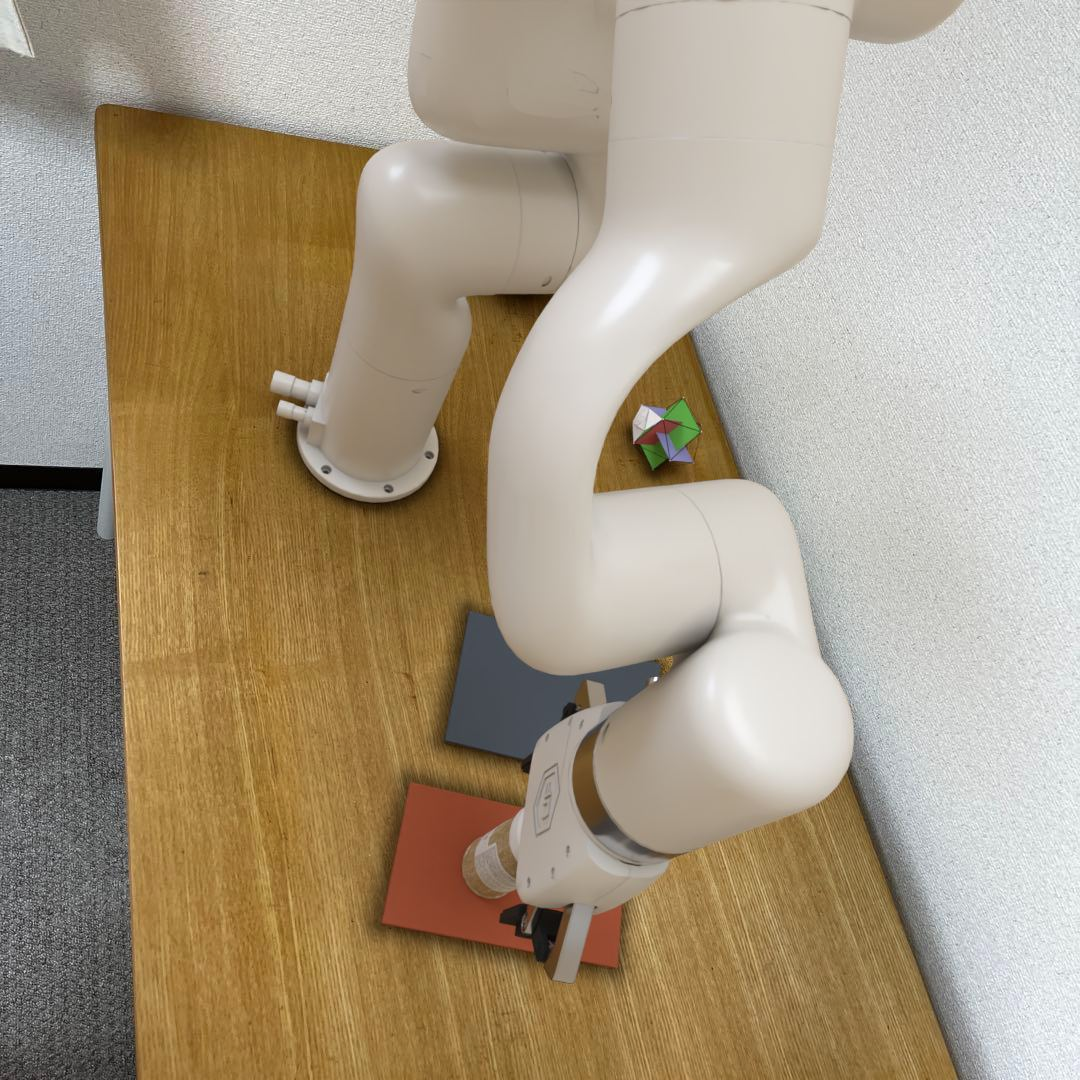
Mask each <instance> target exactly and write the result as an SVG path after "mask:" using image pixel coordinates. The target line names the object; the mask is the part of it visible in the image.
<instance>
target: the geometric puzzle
mask: <svg viewBox="0 0 1080 1080" xmlns="http://www.w3.org/2000/svg"><path fill="white" fill-rule="evenodd" d="M677 399H678V400H677ZM671 400H673V398H672V399H670V401H671ZM666 401H668V399H666V400H665V402H666ZM654 403H655V404H656V403H657V402H655V401H654V402H653V404H654ZM659 403H662V400H661V401H659ZM650 404H651V403H650V402H649V403H648V404H645V403H644V404H643V403H641V404H640V407H639V409H638V411H637V412H636V414H635V416H634V418H633V420H632V422H631V424H632V425H631V426H632V444H633V445H634V446H635V448H636V449H637V450H638V452H639V453H640V454H641V456H642V457H644V455H643V454H642V453H641V451H640V450H639V448H641V449H642V451H643V453H644V454H645V457H646V458H644V459H645V461H647V464H648V465H649V466H650V468H651V470H652V471H655V470H658V469H659V470H660V469H661V466H663V465H665V464H667V463H669V462H677V463H682V464H681V466H685V463H686V464H687V465H690V464H693V465H694V464H695V459H696V455H697V453H698V452H697V451H698V447H699V443H700V441H697V443H696V448H695V452H694V458H692V457H691V455H690V453H689V451H688V448H686V447H687V446H688V445H689V444H691V442H693V441H694V440H695V439H696V438H697V437H698V438H697V440H700V439H701V437H700V436H701V435H702V433H703V431H702V426H703V424H701V422H700V421H699V419H698V418H697V416H696V415H695V413H694V412H693V410H692V409H691V407H690V405H689V404H688V403H687V401H686V399H685V396H682V397H680V398H678V397H677V398H676V401H675V402H674V403H672V404H670V405H668V406H667V407H658V406H652V405H650ZM695 418H696V419H695ZM697 421H698V422H697ZM638 447H639V448H638ZM646 459H647V460H646ZM666 460H667V461H666ZM665 461H666V462H665ZM677 466H679V464H677V465H676V464H675V467H677ZM671 467H673V465H670V466H669V468H671ZM666 468H667V466H664V467H662V469H666Z"/></svg>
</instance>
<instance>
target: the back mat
mask: <svg viewBox="0 0 1080 1080" xmlns="http://www.w3.org/2000/svg"><path fill="white" fill-rule="evenodd" d="M661 664H662V663H658V662H655V661H653V660H651V661H646V662H641V663H637V664H632V665H628V666H623V667H618V668H613V669H608V670H604V671H598V672H592V673H585V674H579V675H562V676H561V675H552V674H548V673H545V672H542V671H539V670H536V669H534V668H532V667H530V666H529V665H527V664H526V663H525V662H523V661H522V660H521V659H519V658H518V657H517V656H516V655H515V653H514V652H513V651H512V650H511V648H510V647H509V646H508V645H507V643H506V641H505V639H504V637H503V635H502V633H501V631H500V629H499V627H498V624H497V621H496V618H495V616H491V615H487V614H483V613H479V612H477V611H473V610H469V612H468V613H467V617H466V623H465V630H464V634H463V639H462V645H461V650H460V654H459V660H458V664H457V670H456V676H455V681H454V686H453V691H452V695H451V696H452V697H451V701H450V707H449V713H448V717H447V723H446V729H445V733H444V738H443V742H444V743H445V744H450V745H454V746H457V747H462V748H465V749H470V750H474V751H478V752H483V753H486V754H490V755H494V756H498V757H503V758H507V759H510V760H515V761H520V762H522V760H523V759H525V758H526V757H527V756H529V755H530V754H531V753H532V752H534V749H535V746H536V744H537V742H538V740H539V739H540V738H541V737H542V736H543V735H544V734H545V733H546V732H547V731H548V730H549V729H551V728H552V727H553V726H555V725H556V724H558V723H559V722H560V720H561V718H562V715H563V714H562V713H563V708H564V706H566V705H567V704H568V703H569V702H571V703H574V697H575V695H576V693H577V691H578V689H579V687H580V685H581V684H582V682H583V680H584V679H589V680H593V681H596V682H600V683H603V684H604V689H605V695H606V701H607V703H612V702H627V701H629V700H630V699H631V698H633V697H634V696H635V695H637V694H638V693H639V692H641V691H642V690H644V689H645V688H646V680H647V679H648V678H651V677H661V667H662V666H661Z"/></svg>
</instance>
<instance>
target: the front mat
mask: <svg viewBox="0 0 1080 1080" xmlns="http://www.w3.org/2000/svg"><path fill="white" fill-rule="evenodd" d="M523 808H524V807H522V806H517V805H513V804H509V803H504V802H499V801H495V800H492V799H487V798H482V797H478V796H473V795H469V794H465V793H460V792H456V791H453V790H452V791H451V790H447V789H442V788H438V787H434V786H430V785H426V784H422V783H417V782H410V783H409V784H408V789H407V795H406V798H405V803H404V809H403V812H402V813H403V814H402V819H401V822H400V829H399V834H398V838H397V843H396V848H395V852H394V856H393V863H392V866H391V871H390V877H389V882H388V887H387V891H386V896H385V901H384V906H383V911H382V916H381V920H380V924H381V925H385V926H390V927H394V928H400V929H406V930H410V931H416V932H422V933H426V934H431V935H437V936H443V937H447V938H453V939H458V940H463V941H468V942H473V943H478V944H484V945H488V946H489V945H490V946H495V947H500V948H504V949H505V948H506V949H510V950H516V951H521V952H526V953H532V954H534V948H533V944H532V939H526V938H521V937H517V936H515V928H516V926H512V925H507V924H502V923H499V919H500V913H503V910H505V909H507V908H510V907H513V906H515V905H518V904H526V903H524V902H522V900H521V899H520V897H519V895H518V892H517V890H514V891H511V892H509V893H507V894H506V895H504V896H502V897H500V898H496V899H487V898H483V897H480V896H478V895H476V894H475V893H474V892H473V891H472V890H470V888H469V887H468V885H467V884H466V882H465V879H464V877H463V873H462V862H463V857H464V854H465V852H466V850H467V848H468V847H469V845H470V844H471V843H472V842H474V841H475V840H476V839H478V838H480V837H482V836H484V835H486V834H487V833H488V832H490V831H491V830H493V829H495V828H496V827H498V826H499V825H501V824H502V823H504V822H506V821H508V820H510V819H512V818H514V817H515V816H516V815H517V813H518V812H519V811H520V810H521V809H523ZM547 909H552V910H557V911H562V912H563V911H564V907H561V908H547ZM622 911H623V904H621V905H619V906H617V907H615V908H613V909H611V910H608V911H606V912H603V913H600V914H597V915H592V919H591V923H590V927H589V930H588V934H587V938H586V941H585V945H584V949H583V953H582V956H581V960H580V963H583V964H584V963H585V964H590V965H594V966H600V967H604V968H611V969H617V968H618V966H619V955H620V954H619V953H620V952H619V951H620V941H621V940H620V939H621V927H622V926H621V925H622V913H623V912H622Z"/></svg>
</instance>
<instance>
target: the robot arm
mask: <svg viewBox="0 0 1080 1080" xmlns="http://www.w3.org/2000/svg"><path fill="white" fill-rule="evenodd" d="M964 1H965V0H416V5H415V10H414V14H413V15H414V16H413V20H412V26H411V33H410V39H409V49H408V58H407V69H406V72H407V73H406V77H407V92H408V97H409V100H410V102H411V103H410V104H411V106H412V109H413V111H414V113H415V114H416V116H417V117H418V119H419V120H420V122H421V123H422V124H423V125H424V126H425V127H426V128H428V129H430V130H431V131H433V133H435V134H437V135H438V136H441V137H443V138H446V139H411V140H404V141H400V142H396V143H392V144H390V145H387V146H385V147H382V148H381V149H379V150H378V151H376V152H375V153H373V155H372V156H371V157H370V158H369V159H368V161H367V162H366V164H365V165H364V167H363V169H362V172H361V175H360V176H359V177H360V178H359V182H358V186H357V192H356V203H355V237H354V238H355V239H354V257H353V266H352V273H351V279H350V283H349V287H348V288H349V289H348V292H347V297H346V301H345V305H344V309H343V314H342V318H341V323H340V327H339V331H338V335H337V340H336V343H335V347H334V353H333V355H332V359H331V364H330V367H329V371H328V372H327V373H326V376H325V379H324V380H323V381H320V380H317V379H315V378H312V381H307V380H304V379H301V378H298V377H297V376H295V375H292V374H290V373H286V372H283V371H280V370H277V369H276V370H275V371H274V373H273V374H272V378H271V382H270V384H269V392H271V393H274V394H277V395H280V396H282V397H286V398H288V399H290V398H292V399H295V400H299V401H302V402H305V403H304V406H303V407H302V406H300V405H296V404H295V403H292V402H290V401H287V400H283V399H280V400H279V403H278V405H277V409H276V413H275V416H277V417H281V418H284V419H287V420H293V421H297V426H296V445H297V449H298V452H299V454H300V457H301V459H302V462H303V463H304V465H305V466H306V468H307V469H308V470H309V472H310V474H311V475H313V476H314V478H315V479H317V480H318V481H319V482H320V483H321V484H322V485H324V486H325V487H326V488H328V489H329V490H331V491H333V492H335V493H336V494H338V495H341V496H343V497H345V498H348V499H352V500H354V501H359V502H366V503H372V504H373V503H388V502H393V501H398V500H401V499H403V498H406V497H409V496H410V495H412V494H413V493H415V492H416V491H418V490H419V489H421V487H423V486H424V484H425V483H426V482H427V481H428V480H429V479H430V476H431V475H432V473H433V471H434V469H435V466H436V464H437V461H438V457H439V450H440V449H439V439H438V434H437V430H436V428H435V426H434V425H435V423H436V421H437V418H438V416H439V413H440V411H441V409H442V407H443V405H444V402H445V400H446V397H447V395H448V392H450V391H449V390H450V389H451V386H452V383H454V382H453V381H454V379H455V377H456V375H457V372H458V370H459V368H460V365H461V363H462V360H463V358H464V356H465V354H466V351H467V349H468V348H469V347H468V346H469V344H470V340H471V336H472V331H473V330H472V329H473V321H472V320H473V319H472V312H471V307H470V305H469V302H468V300H467V297H472V296H495V295H552V297H551V298H550V300H549V301H548V302H547V304H546V305H545V307H544V308H543V309H542V311H541V313H540V315H539V316H538V318H537V319H536V321H535V322H534V324H533V326H532V327H531V329H530V331H529V333H528V334H527V336H526V338H525V340H524V342H523V344H522V346H521V348H520V349H519V352H518V353H517V356H516V358H515V360H514V361H513V364H512V367H511V368H510V371H509V374H508V376H507V378H506V380H505V383H504V386H503V388H502V391H501V394H500V396H499V399H498V402H497V404H496V405H497V406H496V409H495V413H494V416H493V419H492V424H491V431H490V437H489V444H488V458H487V491H486V493H487V494H486V496H487V497H486V563H487V579H488V588H489V590H488V591H489V596H490V601H491V608H492V611H493V614H494V618H496V621H497V624H498V627H499V629H500V631H501V633H502V635H503V637H504V639H505V641H506V643H507V645H508V646H509V647H510V648H511V650H512V651H513V652H514V653H515V655H516V656H517V657H518V658H519V659H521V660H522V661H523V662H525V663H526V664H527V665H529V666H530V667H532V668H534V669H536V670H539V671H542V672H545V673H548V674H552V675H561V676H562V675H579V674H585V673H592V672H598V671H604V670H608V669H613V668H618V667H623V666H628V665H632V664H637V663H641V662H646V661H655V660H660V659H664V658H665V659H666V658H669V657H672V664H671V665H670V668H669V669H668V671H667V672H665V673H664V674H663V675H660V677H651V678H648V679H647V680H646V688H645V689H644V690H642V691H641V692H639V693H638V694H637V695H635V696H634V697H633V698H631V699H630V700H629V701H627V702H612V703H607V701H606V695H605V689H604V684H603V683H600V682H596V681H593V680H589V679H584V680H583V682H582V684H581V685H580V687H579V689H578V691H577V693H576V695H575V697H574V703H571V702H569V703H568V704H567V705H566V706H564V708H563V713H562V714H563V715H562V718H561V720H560V722H559V723H558V724H556V725H555V726H553V727H552V728H551V729H549V730H548V731H547V732H546V733H545V734H544V735H543V736H542V737H541V738H540V739H539V740H538V742H537V744H536V746H535V749H534V752H532V753H531V754H530V755H529V756H527V757H526V758H525V759H523V760H522V761H521V765H520V769H521V770H522V773H525V774H527V775H529V776H528V781H527V788H526V795H525V801H524V807H525V809H524V816H523V823H522V831H521V839H520V847H519V854H518V863H517V873H516V887H517V892H518V895H519V897H520V899H521V900H522V902H524V903H526V904H518V905H515V906H513V907H510V908H507V909H505V910H503V913H500V919H499V923H502V924H507V925H512V926H516V928H515V936H517V937H521V938H526V939H532V944H533V948H534V953H533V955H534V958H535V961H536V962H537V963H542V964H543V967H542V968H543V970H544V971H545V973H546V975H547V977H548V978H549V980H550V981H552V982H558V983H564V984H569V985H573V984H574V983H575V981H576V978H577V975H578V971H579V968H580V963H581V962H580V960H581V956H582V953H583V949H584V945H585V941H586V938H587V934H588V930H589V927H590V923H591V919H592V915H597V914H600V913H603V912H606V911H608V910H611V909H613V908H615V907H617V906H619V905H621V904H622V905H624V904H625V903H627V902H628V901H630V900H632V899H634V898H635V897H637V896H638V895H640V894H641V893H643V892H644V891H645V890H647V889H648V888H649V887H650V886H652V885H653V884H654V883H656V882H657V880H659V879H660V877H661V876H663V874H665V873H666V871H667V870H668V868H669V865H670V863H671V859H675V858H677V857H680V856H682V855H685V854H688V853H691V852H693V851H697V850H699V849H702V848H705V847H707V846H710V845H712V844H717V843H719V842H722V841H724V840H727V839H731V838H732V837H735V836H738V835H741V834H744V833H746V832H749V831H752V830H755V829H758V828H760V827H764V826H766V825H769V824H772V823H774V822H777V821H780V820H783V819H785V818H788V817H792V816H794V815H796V814H800V813H801V812H804V811H806V810H808V809H810V808H812V807H814V806H816V805H819V804H820V803H821V802H823V801H824V800H825V799H827V797H828V796H830V795H831V793H832V792H833V791H834V790H835V789H836V788H837V787H838V786H839V784H840V783H841V782H842V780H843V778H844V776H845V774H846V773H847V772H848V769H849V767H850V764H851V760H852V756H853V751H854V742H855V729H854V728H855V726H854V719H853V715H852V708H851V706H850V703H849V700H848V698H847V695H846V693H845V691H844V689H843V687H842V685H841V683H840V681H839V680H838V678H837V676H836V675H835V674H834V672H833V671H832V669H831V668H830V667H829V666H828V665H827V663H826V662H825V661H824V660H823V658H822V654H821V653H822V652H821V650H820V644H819V640H818V636H817V632H816V627H815V624H814V618H813V612H812V606H811V600H810V596H809V595H810V594H809V589H808V583H807V578H806V573H805V567H804V562H803V555H802V552H801V547H800V544H799V540H798V537H797V533H796V529H795V527H794V524H793V523H792V520H791V517H790V515H789V513H788V511H787V510H786V508H785V506H784V504H783V503H782V502H781V500H780V499H779V498H778V496H777V495H775V494H774V493H773V492H772V491H771V490H770V489H769V488H768V487H766V486H765V485H762V484H760V483H757V482H755V481H752V480H749V479H742V478H720V479H712V480H702V481H695V482H693V481H692V482H685V483H677V484H668V485H655V486H648V487H640V488H639V487H638V488H630V489H621V490H613V491H611V490H610V491H604V492H603V491H602V492H594V487H595V481H596V476H597V469H598V464H599V461H600V457H601V454H602V450H603V448H604V445H605V441H606V438H607V435H608V433H609V431H610V429H611V427H612V425H613V423H614V420H615V418H616V416H617V414H618V412H619V410H620V408H621V407H622V405H623V403H624V402H625V400H626V399H627V398H628V396H629V394H630V392H631V391H632V390H633V388H634V387H635V385H636V384H637V383H638V381H639V380H640V379H641V378H642V376H644V374H645V373H646V372H647V371H648V370H649V369H650V367H651V366H652V365H653V364H654V363H655V362H656V361H657V360H658V359H659V358H660V357H661V356H662V355H663V354H664V353H666V352H667V351H668V350H669V349H671V347H672V346H673V345H674V344H675V343H676V342H678V341H679V340H680V339H682V338H683V337H684V336H686V335H687V334H688V333H689V332H690V331H692V330H694V329H695V328H696V327H698V326H699V325H700V324H702V323H703V322H705V321H706V320H708V319H710V318H711V317H713V316H714V315H715V314H717V313H719V312H720V311H722V310H723V309H725V308H726V307H728V306H729V305H731V304H733V303H734V302H736V301H738V300H739V299H741V298H743V297H744V296H746V295H748V294H750V293H751V292H752V291H754V290H755V289H757V288H759V287H761V286H763V285H765V284H767V283H768V282H770V281H772V280H774V279H776V278H777V277H779V276H781V275H782V274H785V273H786V272H788V271H789V270H791V269H793V268H794V267H795V266H797V265H798V264H799V263H801V262H802V261H804V260H805V259H806V258H807V257H808V255H810V253H811V252H812V251H813V250H814V249H815V248H816V246H817V245H818V244H817V243H818V242H819V240H820V238H821V236H822V233H823V229H824V225H825V220H826V219H825V218H826V211H827V205H828V204H827V203H828V194H829V185H830V178H831V173H832V172H831V170H832V164H833V158H834V151H835V149H834V147H835V140H836V133H837V132H836V131H837V125H838V119H839V118H838V117H839V113H840V112H839V111H840V104H841V98H842V97H841V96H842V89H843V82H844V75H845V67H846V62H847V61H846V60H847V53H848V46H849V40H854V41H858V42H859V41H860V42H864V43H870V44H879V45H897V44H902V43H906V42H910V41H911V42H912V41H914V40H917V39H919V38H921V37H923V36H926V35H927V34H929V33H931V32H932V31H934V30H936V29H937V28H938V27H939V26H941V25H942V24H943V23H944V22H945V21H947V20H948V19H949V18H950V17H951V16H953V14H954V13H955V12H956V11H957V10H958V9H959V8H960V7H961V5H963V3H964ZM561 907H564V911H563V912H562V911H557V910H552V909H547V908H561Z"/></svg>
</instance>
